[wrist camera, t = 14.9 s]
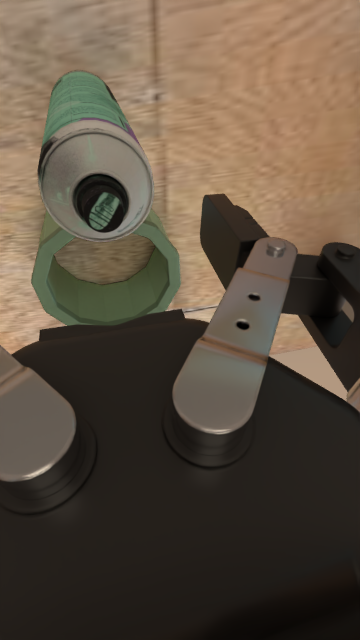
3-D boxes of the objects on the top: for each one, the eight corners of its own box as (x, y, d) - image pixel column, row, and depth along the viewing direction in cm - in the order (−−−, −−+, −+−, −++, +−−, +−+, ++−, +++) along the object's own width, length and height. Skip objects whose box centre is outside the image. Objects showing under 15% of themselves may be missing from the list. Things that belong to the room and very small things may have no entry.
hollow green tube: (55, 157, 29) (52, 191, 24) (183, 208, 36) (204, 244, 30) (27, 275, 36) (21, 322, 31) (137, 300, 43) (148, 341, 38)
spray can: (53, 141, 28) (41, 270, 14) (46, 63, 24) (21, 134, 11) (116, 148, 30) (159, 270, 16) (118, 76, 26) (176, 152, 12)
